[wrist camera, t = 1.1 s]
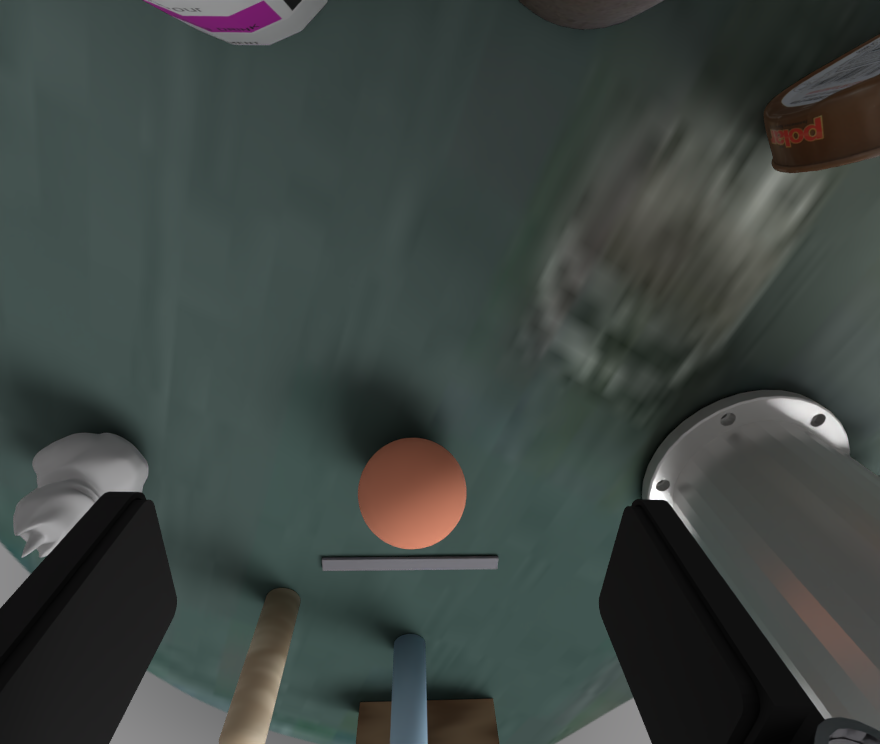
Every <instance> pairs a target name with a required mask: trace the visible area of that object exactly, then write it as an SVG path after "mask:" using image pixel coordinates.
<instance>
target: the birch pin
mask: <svg viewBox="0 0 880 744" xmlns="http://www.w3.org/2000/svg"><path fill="white" fill-rule="evenodd" d="M300 601H301V600H300V597H299V595H298V594H297V593H296V592H295V591H293V590H291V589H287V588H276V589H273V590H271V591H270V592H269V593H268V594H267V596H266V599H265V602H264V605H263V608H262V611H261V614H260V617H259V620H258V623H257V626H256V629H255V632H254V635H253V638H252V641H251V644H250V647H249V650H248V653H247V656H246V660H245V663H244V666H243V669H242V672H241V675H240V678H239V681H238V684H237V687H236V690H235V693H234V696H233V699H232V702H231V705H230V708H229V711H228V714H227V717H226V720H225V723H224V726H223V729H222V732H221V735H220V738H219V744H265V741H266V737H267V733H268V729H269V725H270V721H271V717H272V713H273V710H274V706H275V702H276V698H277V694H278V690H279V686H280V682H281V678H282V674H283V670H284V666H285V662H286V658H287V654H288V650H289V646H290V642H291V638H292V634H293V630H294V626H295V622H296V618H297V614H298V610H299V606H300Z"/></svg>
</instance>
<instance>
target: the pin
mask: <svg viewBox="0 0 880 744" xmlns="http://www.w3.org/2000/svg"><path fill="white" fill-rule="evenodd" d="M390 744H428V738H427V693H426V647H425V640H424V639H423V638H422V637H421V636H419V635H416V634H405V635H402V636H400V637H398V638H397V639H396V640H395V642H394V656H393V680H392V704H391V728H390Z"/></svg>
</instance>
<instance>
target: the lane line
mask: <svg viewBox="0 0 880 744" xmlns="http://www.w3.org/2000/svg"><path fill="white" fill-rule="evenodd" d="M497 566H498V556H459V557H350V558H322V567H323V571H360V570H453V569H497Z"/></svg>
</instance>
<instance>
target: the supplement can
mask: <svg viewBox="0 0 880 744" xmlns="http://www.w3.org/2000/svg"><path fill="white" fill-rule="evenodd" d="M143 1H145V2H147V3H149V4H151V5H152V6H154V7H156V8H158V9H160V10H162V11H163V12H165V13H167V14H169V15H171V16H173V17H175V18H176V19H178V20H180V21H182V22H184V23H186V24H187V25H189V26H191V27H193V28H195V29H197V30H199V31H201V32H204V33H206V34H209V35H211V36H213V37H216V38H218V39H221V40H223V41H226V42H228V43H231V44H233V45H271V44H273V43H276V42H278V41H280V40H282V39H285V38H287V37H289V36H291V35H294V34H296V33H298V32H300V31H302V30H303V29H304V28H305V27H306V25H307V24H308V23H309V22H310V21H311V20H312V19H313V18H314V17H315V15H316V14H317V13H318V12H319V11H320V10H321V9H322V8H323V7H324V6H325V4H326V3H327V1H328V0H143Z"/></svg>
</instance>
